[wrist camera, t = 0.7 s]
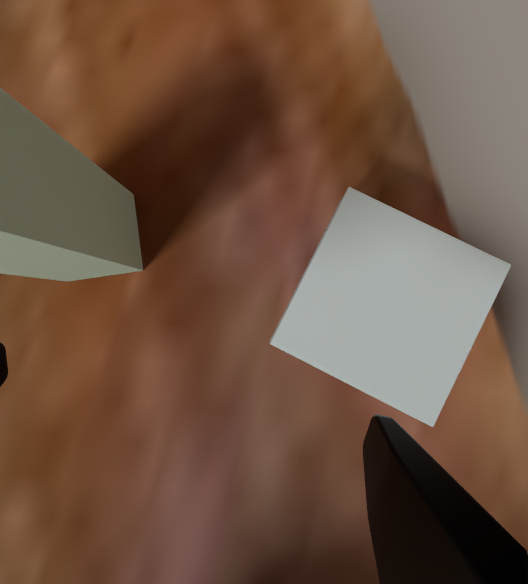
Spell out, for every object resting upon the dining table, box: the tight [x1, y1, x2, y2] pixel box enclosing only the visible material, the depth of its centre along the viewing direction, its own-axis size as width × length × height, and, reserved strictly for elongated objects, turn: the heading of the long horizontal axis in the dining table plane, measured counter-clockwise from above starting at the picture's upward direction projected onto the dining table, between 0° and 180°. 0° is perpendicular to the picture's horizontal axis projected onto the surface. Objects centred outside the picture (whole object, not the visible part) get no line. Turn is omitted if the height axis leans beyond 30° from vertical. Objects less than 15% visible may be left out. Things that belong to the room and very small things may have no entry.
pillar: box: [0, 88, 143, 281], centre depth 16 cm, size 5×5×12 cm
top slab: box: [270, 187, 511, 427], centre depth 19 cm, size 9×9×2 cm
